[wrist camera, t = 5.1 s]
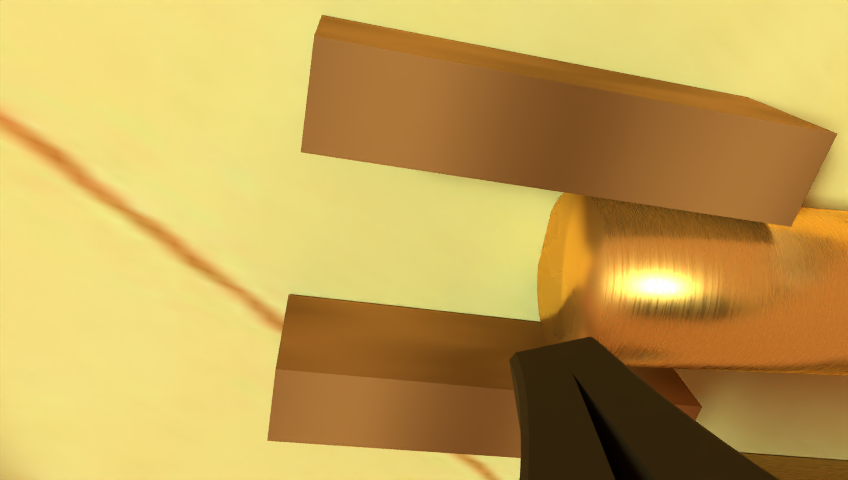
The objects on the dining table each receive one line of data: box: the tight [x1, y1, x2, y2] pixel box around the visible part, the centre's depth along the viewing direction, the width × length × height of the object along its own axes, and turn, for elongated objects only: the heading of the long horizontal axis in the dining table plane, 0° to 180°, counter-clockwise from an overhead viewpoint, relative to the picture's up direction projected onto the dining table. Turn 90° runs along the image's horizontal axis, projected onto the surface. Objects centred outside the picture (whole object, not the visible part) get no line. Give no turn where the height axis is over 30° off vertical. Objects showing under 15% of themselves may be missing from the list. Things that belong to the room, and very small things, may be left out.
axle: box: [537, 192, 848, 376], centre depth 15 cm, size 10×4×4 cm, turn 82°
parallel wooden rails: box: [267, 15, 837, 458], centre depth 14 cm, size 10×9×3 cm
